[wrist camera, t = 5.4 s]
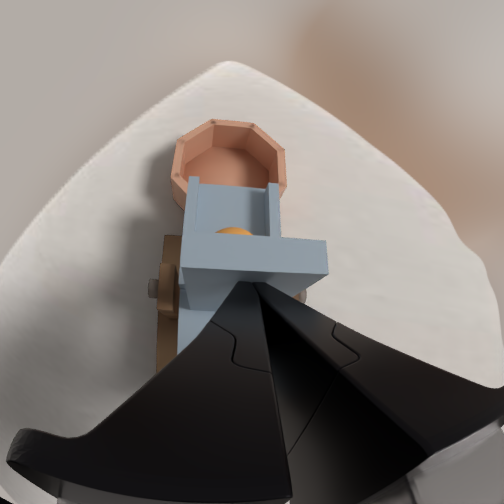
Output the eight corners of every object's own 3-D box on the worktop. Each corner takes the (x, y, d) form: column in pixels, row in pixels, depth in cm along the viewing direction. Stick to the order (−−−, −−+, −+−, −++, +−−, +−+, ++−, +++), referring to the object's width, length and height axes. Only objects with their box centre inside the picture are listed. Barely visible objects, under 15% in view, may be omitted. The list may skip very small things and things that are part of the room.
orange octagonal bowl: (276, 234, 23) (288, 217, 20) (170, 227, 22) (165, 208, 19) (273, 150, 26) (282, 127, 23) (182, 142, 25) (181, 117, 21)
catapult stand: (280, 422, 19) (311, 449, 13) (158, 421, 17) (142, 451, 11) (280, 244, 23) (307, 209, 17) (165, 236, 22) (154, 197, 16)
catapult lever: (264, 401, 17) (349, 457, 6) (181, 401, 16) (155, 469, 5) (263, 212, 21) (318, 94, 11) (190, 207, 20) (190, 77, 10)
